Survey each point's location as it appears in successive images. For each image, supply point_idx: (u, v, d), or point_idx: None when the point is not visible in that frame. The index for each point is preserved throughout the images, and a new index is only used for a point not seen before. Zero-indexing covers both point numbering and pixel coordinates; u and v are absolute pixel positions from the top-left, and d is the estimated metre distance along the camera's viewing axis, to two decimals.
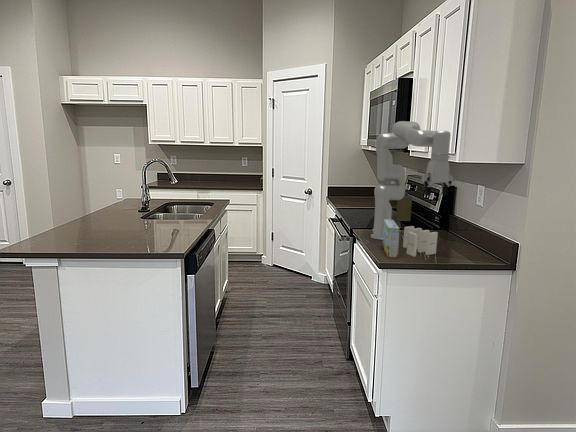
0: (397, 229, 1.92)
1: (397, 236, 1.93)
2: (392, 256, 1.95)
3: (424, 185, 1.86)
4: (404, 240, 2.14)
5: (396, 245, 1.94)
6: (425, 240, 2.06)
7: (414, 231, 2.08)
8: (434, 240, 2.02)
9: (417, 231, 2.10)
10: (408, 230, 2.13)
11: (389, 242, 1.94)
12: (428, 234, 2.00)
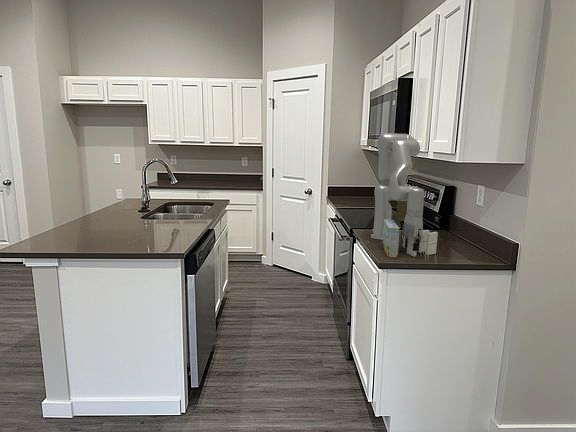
0: (397, 229, 1.92)
1: (397, 236, 1.93)
2: (392, 256, 1.95)
3: (415, 242, 1.95)
4: (404, 240, 2.14)
5: (396, 245, 1.94)
6: (425, 240, 2.06)
7: None
8: (434, 240, 2.02)
9: None
10: None
11: (389, 242, 1.94)
12: (428, 234, 2.00)
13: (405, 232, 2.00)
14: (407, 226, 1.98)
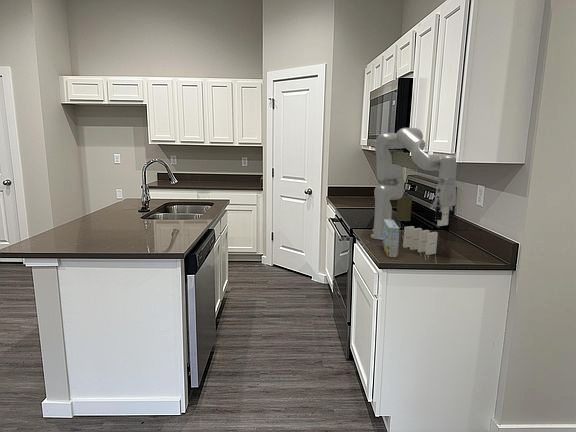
0: (397, 229, 1.92)
1: (397, 236, 1.93)
2: (392, 256, 1.95)
3: None
4: (404, 240, 2.14)
5: (396, 245, 1.94)
6: (425, 240, 2.06)
7: (414, 231, 2.08)
8: (434, 240, 2.02)
9: (417, 231, 2.10)
10: (408, 230, 2.13)
11: (389, 242, 1.94)
12: (428, 234, 2.00)
13: (446, 203, 1.90)
14: (448, 196, 1.90)
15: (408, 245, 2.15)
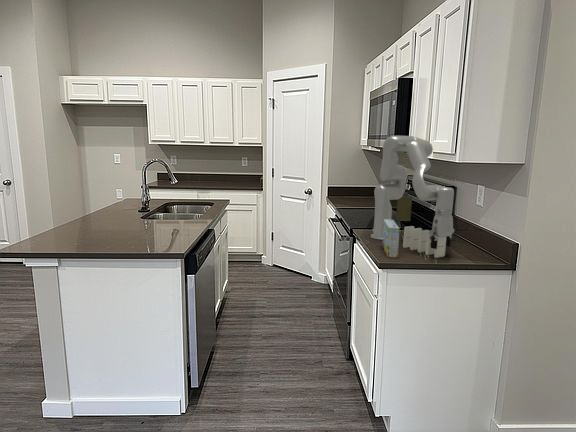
0: (397, 229, 1.92)
1: (397, 236, 1.93)
2: (392, 256, 1.95)
3: (451, 237, 1.99)
4: (404, 240, 2.14)
5: (396, 245, 1.94)
6: (425, 240, 2.06)
7: (414, 231, 2.08)
8: None
9: (417, 231, 2.10)
10: (408, 230, 2.13)
11: (389, 242, 1.94)
12: (428, 234, 2.00)
13: (443, 234, 1.93)
14: (445, 227, 1.93)
15: (408, 245, 2.15)
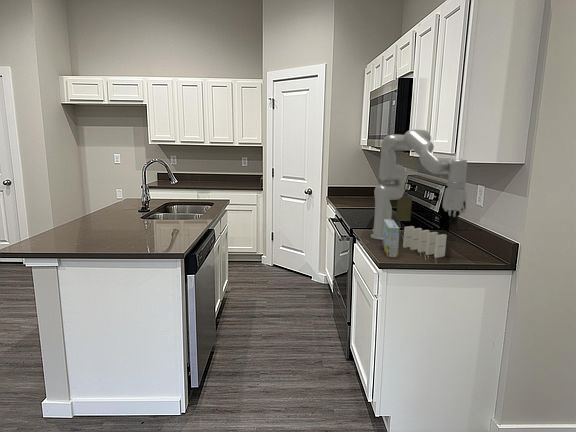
0: (397, 229, 1.92)
1: (397, 236, 1.93)
2: (392, 256, 1.95)
3: (454, 216, 1.88)
4: (404, 240, 2.14)
5: (396, 245, 1.94)
6: (425, 240, 2.06)
7: (414, 231, 2.08)
8: (434, 240, 2.02)
9: (417, 231, 2.10)
10: (408, 230, 2.13)
11: (389, 242, 1.94)
12: (428, 234, 2.00)
13: (446, 206, 1.90)
14: (449, 200, 1.88)
15: (408, 245, 2.15)
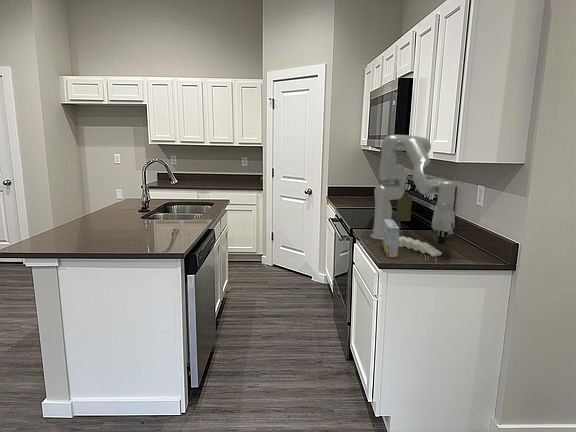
0: (397, 229, 1.92)
1: (397, 236, 1.93)
2: (392, 256, 1.95)
3: (443, 236, 1.94)
4: None
5: (396, 245, 1.94)
6: None
7: None
8: None
9: (401, 237, 2.20)
10: None
11: (389, 242, 1.94)
12: (409, 242, 2.11)
13: (435, 226, 1.96)
14: (438, 220, 1.94)
15: None
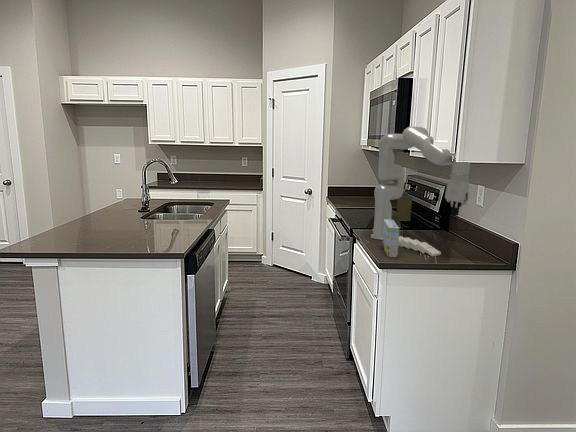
0: (397, 229, 1.92)
1: (397, 236, 1.93)
2: (392, 256, 1.95)
3: (456, 207, 1.91)
4: None
5: (396, 245, 1.94)
6: None
7: None
8: None
9: (399, 237, 2.20)
10: None
11: (389, 242, 1.94)
12: (409, 242, 2.11)
13: (448, 197, 1.93)
14: (451, 191, 1.91)
15: None
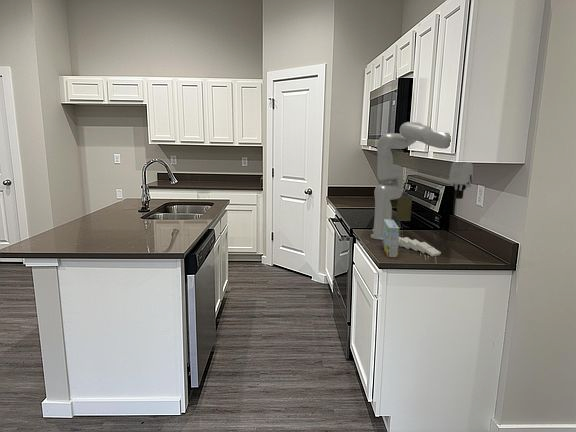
0: (397, 229, 1.92)
1: (397, 236, 1.93)
2: (392, 256, 1.95)
3: (460, 190, 1.91)
4: None
5: (396, 245, 1.94)
6: None
7: None
8: None
9: None
10: None
11: (389, 242, 1.94)
12: (408, 242, 2.11)
13: (453, 180, 1.93)
14: (455, 174, 1.91)
15: None
